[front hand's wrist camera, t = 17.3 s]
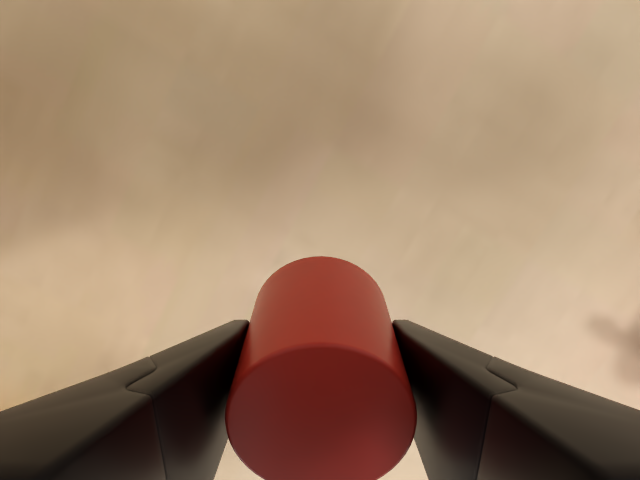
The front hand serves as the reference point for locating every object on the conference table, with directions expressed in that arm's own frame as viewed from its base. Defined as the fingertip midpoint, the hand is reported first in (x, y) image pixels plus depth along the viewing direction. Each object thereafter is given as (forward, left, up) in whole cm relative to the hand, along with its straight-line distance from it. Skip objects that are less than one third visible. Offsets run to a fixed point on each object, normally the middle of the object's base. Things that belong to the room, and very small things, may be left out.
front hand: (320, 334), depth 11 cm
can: (0, 0, -1) cm, 1 cm away
